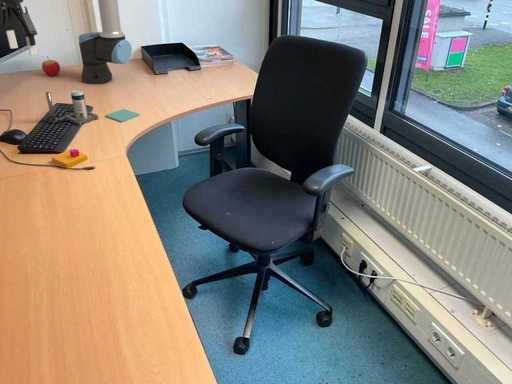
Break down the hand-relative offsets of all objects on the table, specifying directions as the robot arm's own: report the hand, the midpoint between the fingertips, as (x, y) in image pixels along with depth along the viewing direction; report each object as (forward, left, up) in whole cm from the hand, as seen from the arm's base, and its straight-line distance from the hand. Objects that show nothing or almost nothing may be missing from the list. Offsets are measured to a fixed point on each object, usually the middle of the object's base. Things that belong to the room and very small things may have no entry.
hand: (23, 51), depth 161 cm
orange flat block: (+18, +45, -26) cm, 55 cm away
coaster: (-20, +28, -26) cm, 43 cm away
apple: (-37, -44, -26) cm, 63 cm away
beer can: (-7, +18, -26) cm, 33 cm away
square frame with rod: (-4, +16, -26) cm, 31 cm away
